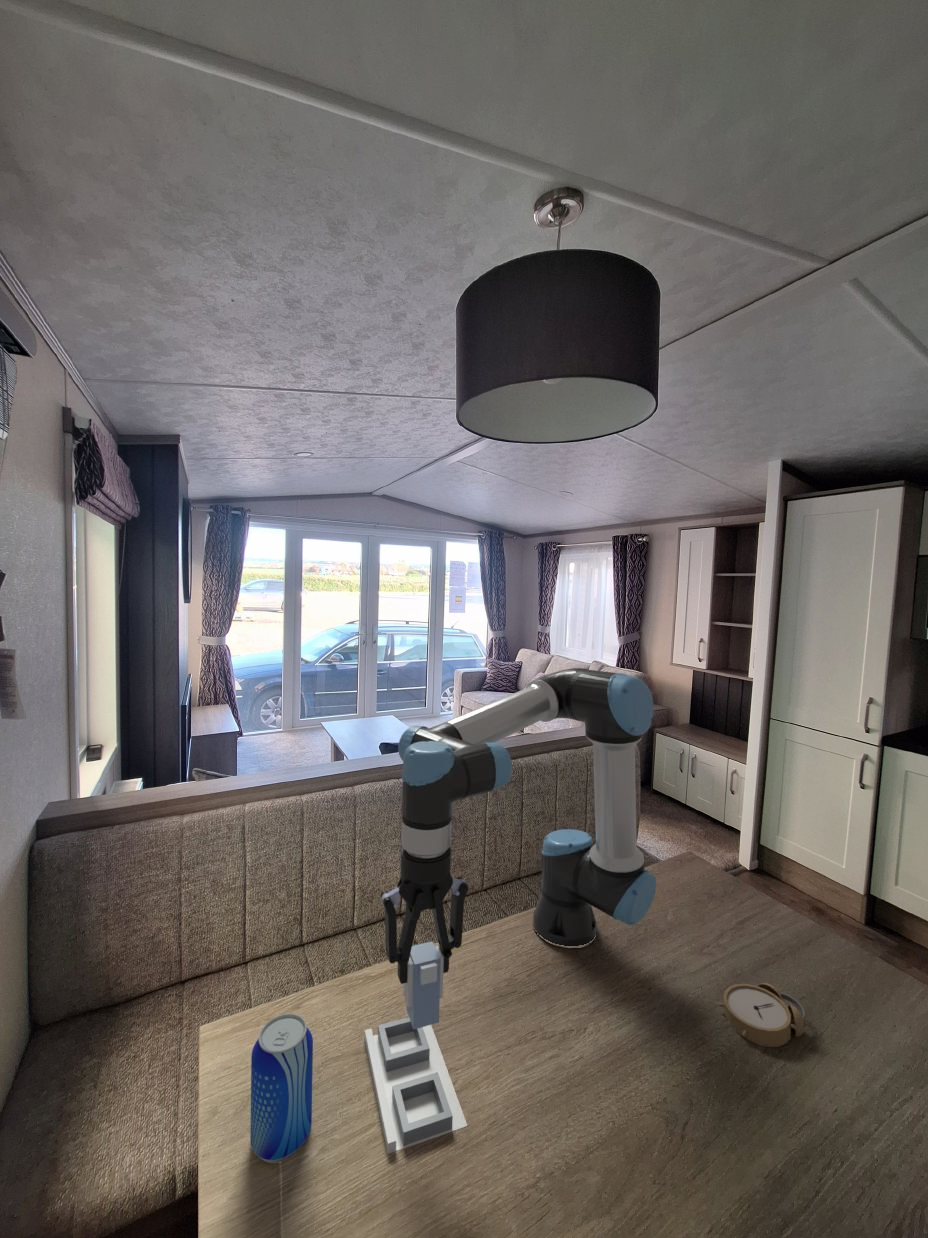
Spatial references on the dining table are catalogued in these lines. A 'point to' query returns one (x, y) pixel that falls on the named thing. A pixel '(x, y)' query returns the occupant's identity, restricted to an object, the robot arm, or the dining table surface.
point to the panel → (411, 1085)
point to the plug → (425, 985)
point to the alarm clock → (762, 1014)
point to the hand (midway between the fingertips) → (422, 996)
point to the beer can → (281, 1088)
